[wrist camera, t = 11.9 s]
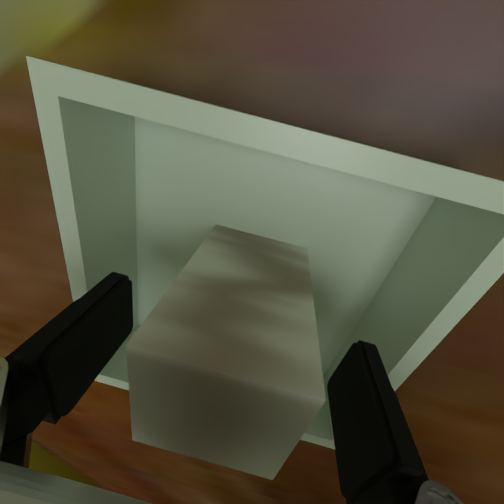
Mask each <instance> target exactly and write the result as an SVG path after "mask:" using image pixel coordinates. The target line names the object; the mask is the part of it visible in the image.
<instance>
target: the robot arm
mask: <svg viewBox="0 0 504 504" xmlns="http://www.w3.org/2000/svg"><path fill="white" fill-rule="evenodd" d="M132 329H133V297H132V281H131V280H129V277H128V276H127V275H124V274H120V273H116V272H111V273H110V274H109V275H107V276H106V277H105V278H104V279H102V280H101V281H100V282H99V283H98V284H96V285H95V286H94V287H93V288H92V289H90V290H89V291H88V292H87V293H86V294H84V295H83V296H82V297H81V298H80V299H77V300H76V301H74V302H73V303H72V304H70V305H69V306H68V307H67V308H66V309H64V310H63V311H62V312H61V313H59V314H58V315H57V316H56V317H55V318H53V319H52V320H51V321H50V322H48V323H47V324H46V325H45V326H44V327H42V328H41V329H40V330H39V331H37V332H36V333H35V334H34V335H33V336H31V337H30V338H29V339H28V340H26V341H25V342H24V343H23V344H22V345H20V346H19V347H18V348H17V349H16V350H14V351H13V352H12V353H11V354H9V355H8V356H7V357H6V358H5V359H4V358H2V357H0V504H152V503H149V502H145V501H142V500H139V499H135V498H132V497H128V496H125V495H121V494H118V493H114V492H111V491H107V490H104V489H101V488H97V487H93V486H90V485H86V484H83V483H80V482H76V481H73V480H69V479H66V478H62V477H59V476H55V475H51V474H48V473H44V472H40V471H36V470H32V469H29V460H30V451H31V442H32V432H33V431H34V430H35V429H36V427H37V426H38V425H39V424H40V423H41V421H45V422H49V423H52V424H56V423H57V421H58V420H59V419H60V418H61V416H65V415H67V414H68V413H69V412H70V411H71V410H72V409H73V407H74V406H75V405H76V404H77V402H78V401H79V400H80V398H81V397H82V396H83V394H84V393H85V392H86V391H87V389H88V388H89V387H90V385H91V384H92V383H93V381H94V380H95V379H96V377H97V376H98V375H99V374H100V372H101V371H102V370H103V368H104V367H105V366H106V364H107V363H108V362H109V361H110V359H111V358H112V357H113V355H114V354H115V353H116V351H117V350H118V349H119V348H120V346H121V345H122V344H123V342H124V341H125V340H126V338H127V337H128V336H129V334H130V333H131V331H132ZM327 392H328V399H329V407H330V414H331V422H332V429H333V437H334V444H335V452H336V459H337V467H338V474H339V482H340V489H341V493H342V495H343V497H345V498H346V502H347V504H463V503H462V502H461V501H460V499H459V498H458V497H457V496H456V495H455V494H454V493H453V492H452V491H450V490H449V489H448V488H447V487H446V486H444V485H442V484H440V483H438V482H436V481H431V480H428V477H427V474H426V472H425V469H424V467H423V464H422V461H421V459H420V456H419V454H418V451H417V448H416V446H415V443H414V441H413V438H412V435H411V433H410V430H409V428H408V425H407V422H406V420H405V417H404V415H403V412H402V409H401V407H400V404H399V402H398V399H397V396H396V394H395V391H394V389H393V387H392V386H391V383H390V380H389V378H388V375H387V373H386V370H385V367H384V365H383V362H382V359H381V357H380V354H379V352H378V349H377V347H376V345H375V344H372V343H369V342H365V341H361V340H359V341H358V342H357V343H355V342H354V343H353V344H352V345H351V347H350V348H349V350H348V351H347V353H346V354H345V356H344V357H343V359H342V360H341V362H340V364H339V365H338V367H337V368H336V370H335V371H334V373H333V374H332V376H331V377H330V379H329V381H328V384H327Z"/></svg>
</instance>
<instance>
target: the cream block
mask: <svg viewBox="0 0 504 504" xmlns="http://www.w3.org/2000/svg"><path fill="white" fill-rule="evenodd" d="M126 354H127V368H128V383H129V397H130V411H131V426H132V440H134V441H137V442H141V443H144V444H148V445H151V446H155V447H158V448H162V449H165V450H169V451H172V452H176V453H179V454H183V455H186V456H190V457H193V458H197V459H200V460H204V461H207V462H211V463H214V464H218V465H221V466H225V467H228V468H232V469H235V470H239V471H242V472H246V473H249V474H253V475H256V476H260V477H263V478H267V479H270V480H273V479H274V478H275V476H276V475H277V473H278V472H279V470H280V469H281V467H282V466H283V464H284V463H285V461H286V460H287V458H288V457H289V455H290V454H291V452H292V451H293V449H294V448H295V446H296V445H297V443H298V442H299V440H300V439H301V437H302V436H303V434H304V433H305V431H306V430H307V428H308V427H309V425H310V424H311V422H312V421H313V419H314V418H315V416H316V414H317V413H318V411H319V410H320V408H321V407H322V405H323V404H324V402H325V401H326V397H325V389H324V381H323V373H322V365H321V357H320V349H319V341H318V333H317V325H316V317H315V308H314V300H313V292H312V284H311V276H310V268H309V260H308V252H307V248H304V247H301V246H297V245H293V244H289V243H285V242H281V241H278V240H274V239H270V238H266V237H262V236H259V235H255V234H251V233H247V232H243V231H239V230H236V229H232V228H228V227H224V226H220V225H215V226H214V228H213V229H212V231H211V232H210V233H209V235H208V236H207V237H206V239H205V240H204V241H203V243H202V244H201V245H200V247H199V248H198V249H197V251H196V252H195V253H194V255H193V256H192V257H191V259H190V260H189V261H188V263H187V264H186V265H185V267H184V268H183V269H182V271H181V272H180V273H179V275H178V276H177V277H176V279H175V280H174V281H173V283H172V284H171V285H170V287H169V288H168V289H167V291H166V292H165V293H164V295H163V296H162V297H161V299H160V300H159V302H158V303H157V304H156V306H155V307H154V308H153V310H152V311H151V312H150V314H149V315H148V316H147V318H146V319H145V320H144V322H143V323H142V324H141V326H140V327H139V328H138V330H137V331H136V332H135V334H134V335H133V336H132V338H131V339H130V340H129V342H128V343H127V344H126Z"/></svg>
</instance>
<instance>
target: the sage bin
mask: <svg viewBox="0 0 504 504" xmlns="http://www.w3.org/2000/svg"><path fill="white" fill-rule="evenodd" d="M26 58H27V63H28V69H29V74H30V79H31V84H32V89H33V95H34V100H35V105H36V110H37V115H38V121H39V126H40V131H41V136H42V142H43V147H44V152H45V157H46V162H47V168H48V173H49V178H50V183H51V188H52V194H53V199H54V204H55V209H56V214H57V220H58V225H59V230H60V235H61V240H62V246H63V251H64V256H65V261H66V266H67V272H68V277H69V282H70V287H71V292H72V298H73V302H74V301H76V300H77V299H80V298H81V297H82V296H83V295H84V294H86V293H87V292H88V291H89V290H90V289H92V288H93V287H94V286H95V285H96V284H98V283H99V282H100V281H101V280H102V279H104V278H105V277H106V276H107V275H109V274H110V273H111V272H116V273H120V274H124V275H127V276H128V277H129V280H131V281H132V297H133V329H132V331H131V333H130V334H129V336H128V337H127V338H126V340H125V341H124V342H123V344H122V345H121V346H120V348H119V349H118V350H117V351H116V353H115V354H114V355H113V357H112V358H111V359H110V361H109V362H108V363H107V364H106V366H105V367H104V368H103V370H102V371H101V372H100V374H99V375H98V376H97V377H96V379H95V380H94V381H98V382H101V383H105V384H108V385H112V386H115V387H119V388H122V389H126V390H129V383H128V368H127V354H126V344H127V343H128V342H129V340H130V339H131V338H132V336H133V335H134V334H135V332H136V331H137V330H138V328H139V327H140V326H141V324H142V323H143V322H144V320H145V319H146V318H147V316H148V315H149V314H150V312H151V311H152V310H153V308H154V307H155V306H156V304H157V303H158V302H159V300H160V299H161V297H162V296H163V295H164V293H165V292H166V291H167V289H168V288H169V287H170V285H171V284H172V283H173V281H174V280H175V279H176V277H177V276H178V275H179V273H180V272H181V271H182V269H183V268H184V267H185V265H186V264H187V263H188V261H189V260H190V259H191V257H192V256H193V255H194V253H195V252H196V251H197V249H198V248H199V247H200V245H201V244H202V243H203V241H204V240H205V239H206V237H207V236H208V235H209V233H210V232H211V231H212V229H213V228H214V226H215V225H220V226H224V227H228V228H232V229H236V230H239V231H243V232H247V233H251V234H255V235H259V236H262V237H266V238H270V239H274V240H278V241H281V242H285V243H289V244H293V245H297V246H301V247H304V248H307V252H308V260H309V268H310V276H311V284H312V292H313V300H314V308H315V317H316V325H317V333H318V341H319V349H320V357H321V365H322V373H323V381H324V389H325V397H326V401H325V402H324V404H323V405H322V407H321V408H320V410H319V411H318V413H317V414H316V416H315V418H314V419H313V421H312V422H311V424H310V425H309V427H308V428H307V430H306V431H305V433H304V434H303V436H302V437H301V439H300V440H304V441H307V442H311V443H314V444H318V445H321V446H325V447H328V448H332V449H335V444H334V437H333V429H332V422H331V414H330V407H329V399H328V392H327V384H328V381H329V379H330V377H331V376H332V374H333V373H334V371H335V370H336V368H337V367H338V365H339V364H340V362H341V360H342V359H343V357H344V356H345V354H346V353H347V351H348V350H349V348H350V347H351V345H352V344H353V343H354V342H355V343H357V342H358V341H359V340H361V341H365V342H369V343H372V344H375V345H376V347H377V349H378V352H379V354H380V357H381V359H382V362H383V365H384V367H385V370H386V373H387V375H388V378H389V380H390V383H391V386H392V387H393V389H394V391H396V390H397V388H398V387H399V386H400V385H401V384H402V383H403V382H404V381H405V380H406V379H407V378H408V376H409V375H410V374H411V373H412V372H413V371H414V370H415V369H416V368H417V367H418V366H419V365H420V363H421V362H422V361H423V360H424V359H425V358H426V357H427V356H428V355H429V354H430V353H431V351H432V350H433V349H434V348H435V347H436V346H437V345H438V344H439V343H440V342H441V341H442V339H443V338H444V337H445V336H446V335H447V334H448V333H449V332H450V331H451V330H452V329H453V327H454V326H455V325H456V324H457V323H458V322H459V321H460V320H461V319H462V318H463V317H464V315H465V314H466V313H467V312H468V311H469V310H470V309H471V308H472V307H473V306H474V305H475V303H476V302H477V301H478V300H479V299H480V298H481V297H482V296H483V295H484V294H485V293H486V291H487V290H488V289H489V288H490V287H491V286H492V285H493V284H494V283H495V282H496V281H497V279H498V278H499V277H500V276H501V275H502V274H503V273H504V181H502V180H498V179H494V178H491V177H487V176H483V175H480V174H476V173H472V172H469V171H465V170H461V169H458V168H454V167H450V166H446V165H442V164H439V163H435V162H431V161H427V160H423V159H420V158H416V157H412V156H408V155H404V154H401V153H397V152H393V151H389V150H385V149H382V148H378V147H374V146H370V145H366V144H362V143H359V142H355V141H351V140H347V139H343V138H340V137H336V136H332V135H328V134H324V133H321V132H317V131H313V130H309V129H305V128H302V127H298V126H294V125H290V124H286V123H283V122H279V121H275V120H271V119H267V118H264V117H260V116H256V115H252V114H248V113H245V112H241V111H237V110H233V109H229V108H226V107H222V106H218V105H214V104H210V103H207V102H203V101H199V100H195V99H191V98H188V97H184V96H180V95H176V94H172V93H169V92H165V91H161V90H157V89H153V88H150V87H146V86H142V85H138V84H134V83H131V82H127V81H123V80H119V79H115V78H111V77H107V76H103V75H99V74H95V73H91V72H87V71H83V70H79V69H75V68H71V67H67V66H64V65H60V64H56V63H52V62H48V61H44V60H40V59H36V58H32V57H28V56H26Z"/></svg>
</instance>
